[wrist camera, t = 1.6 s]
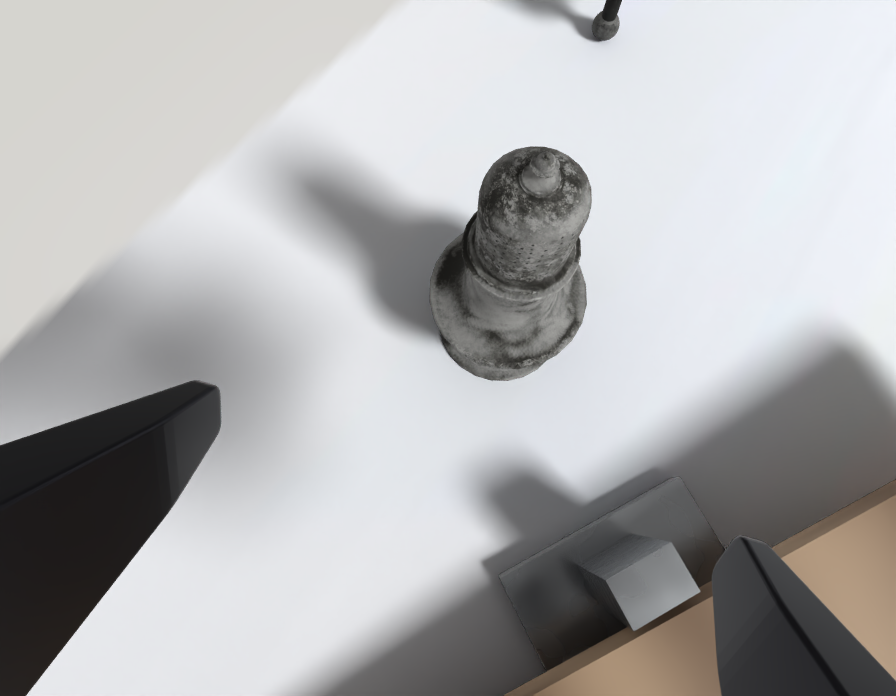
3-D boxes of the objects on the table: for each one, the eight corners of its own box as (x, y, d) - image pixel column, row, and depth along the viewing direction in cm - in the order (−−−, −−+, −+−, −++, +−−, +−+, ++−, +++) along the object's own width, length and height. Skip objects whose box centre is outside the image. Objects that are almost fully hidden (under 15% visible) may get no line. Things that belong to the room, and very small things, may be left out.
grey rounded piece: (577, 380, 23) (708, 263, 11) (438, 394, 23) (428, 290, 11) (555, 253, 24) (652, 35, 13) (426, 266, 24) (404, 56, 13)
